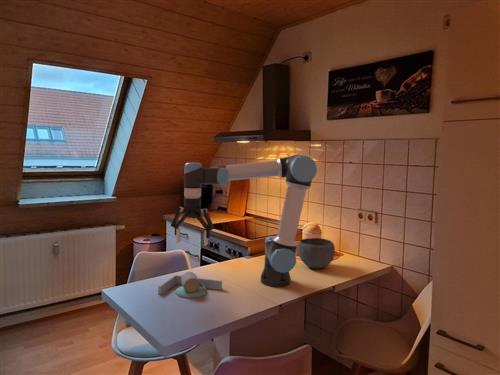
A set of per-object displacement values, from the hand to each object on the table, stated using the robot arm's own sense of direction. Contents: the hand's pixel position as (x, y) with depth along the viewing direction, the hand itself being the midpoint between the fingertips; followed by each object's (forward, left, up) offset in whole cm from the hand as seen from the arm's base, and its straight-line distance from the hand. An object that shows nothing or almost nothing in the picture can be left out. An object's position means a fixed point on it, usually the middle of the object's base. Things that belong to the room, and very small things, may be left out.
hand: (192, 243), depth 171 cm
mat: (0, 0, -23) cm, 23 cm away
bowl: (-51, -59, -23) cm, 81 cm away
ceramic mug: (0, -1, -22) cm, 22 cm away
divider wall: (0, -8, -23) cm, 24 cm away
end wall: (+12, 0, -23) cm, 26 cm away
